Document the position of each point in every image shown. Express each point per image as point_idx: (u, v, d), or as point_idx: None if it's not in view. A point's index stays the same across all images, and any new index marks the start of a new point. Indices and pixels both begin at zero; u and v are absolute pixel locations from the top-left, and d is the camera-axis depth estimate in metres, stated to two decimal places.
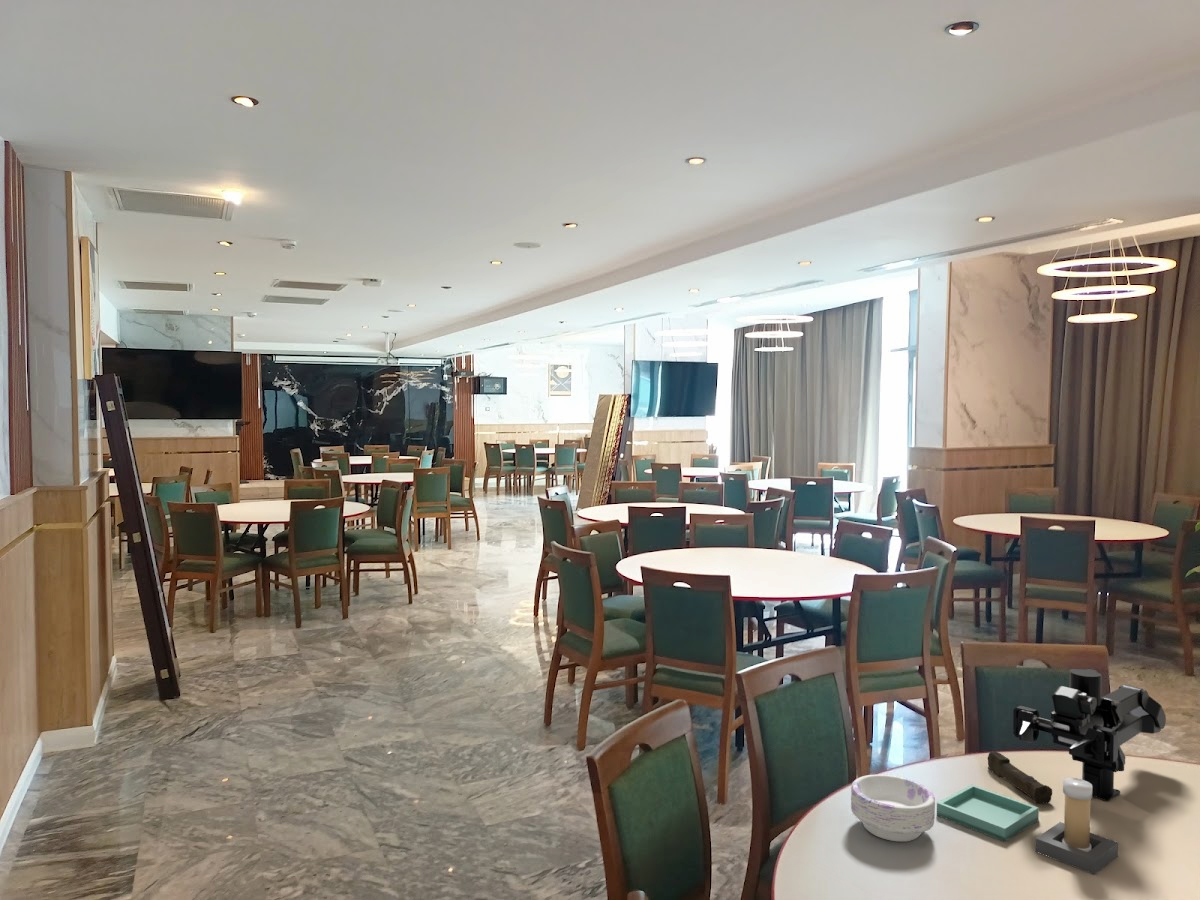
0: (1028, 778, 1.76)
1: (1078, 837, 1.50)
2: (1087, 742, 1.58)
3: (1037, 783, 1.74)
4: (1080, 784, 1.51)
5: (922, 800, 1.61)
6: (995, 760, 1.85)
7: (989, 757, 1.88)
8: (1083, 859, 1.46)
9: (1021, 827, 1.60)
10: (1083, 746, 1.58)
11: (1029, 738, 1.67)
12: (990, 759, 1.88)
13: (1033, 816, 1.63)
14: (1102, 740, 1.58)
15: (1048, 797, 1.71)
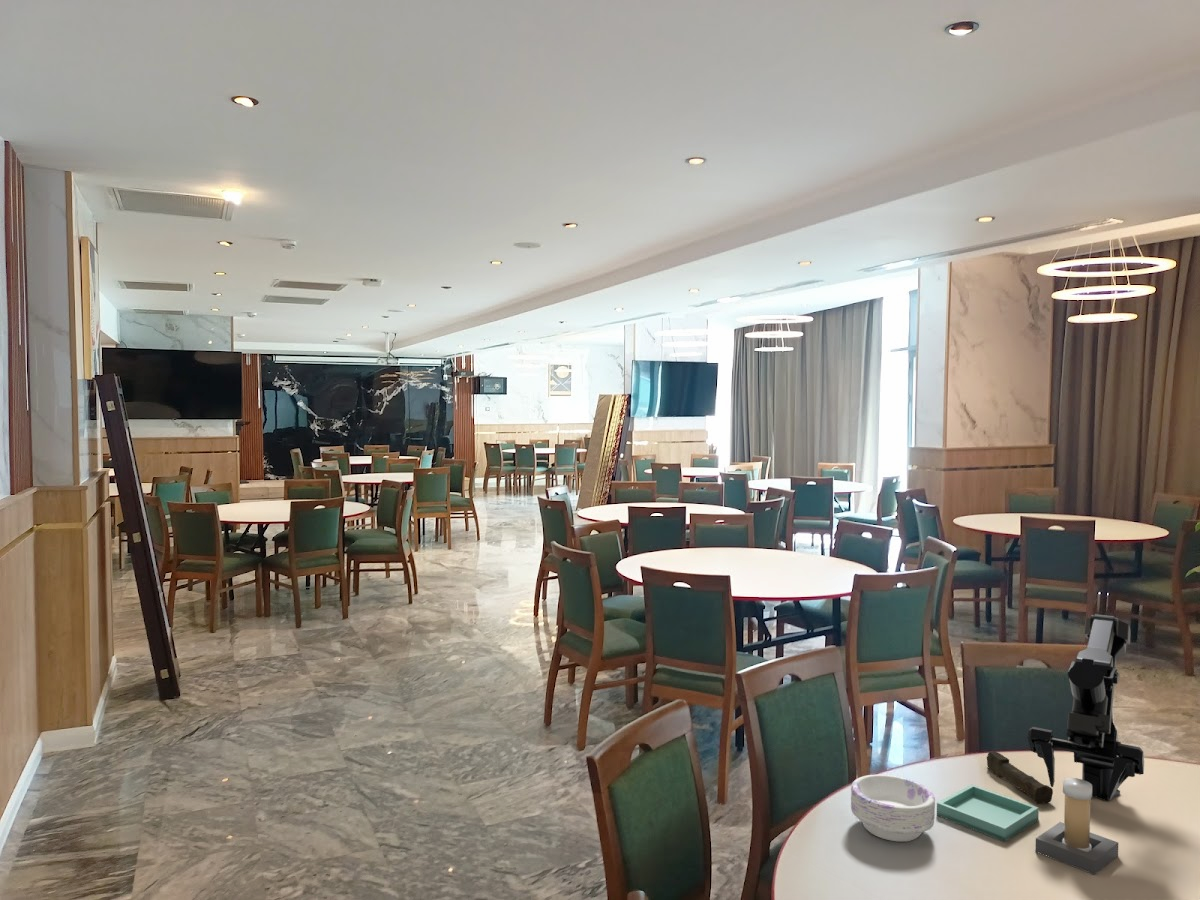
0: (1028, 778, 1.76)
1: (1078, 837, 1.50)
2: (1119, 776, 1.52)
3: (1037, 783, 1.74)
4: (1080, 784, 1.51)
5: (922, 799, 1.61)
6: (994, 760, 1.85)
7: (988, 757, 1.88)
8: (1083, 859, 1.46)
9: (1021, 827, 1.60)
10: (1117, 782, 1.52)
11: (1054, 766, 1.60)
12: (989, 759, 1.88)
13: (1033, 816, 1.63)
14: (1131, 766, 1.52)
15: (1048, 797, 1.71)
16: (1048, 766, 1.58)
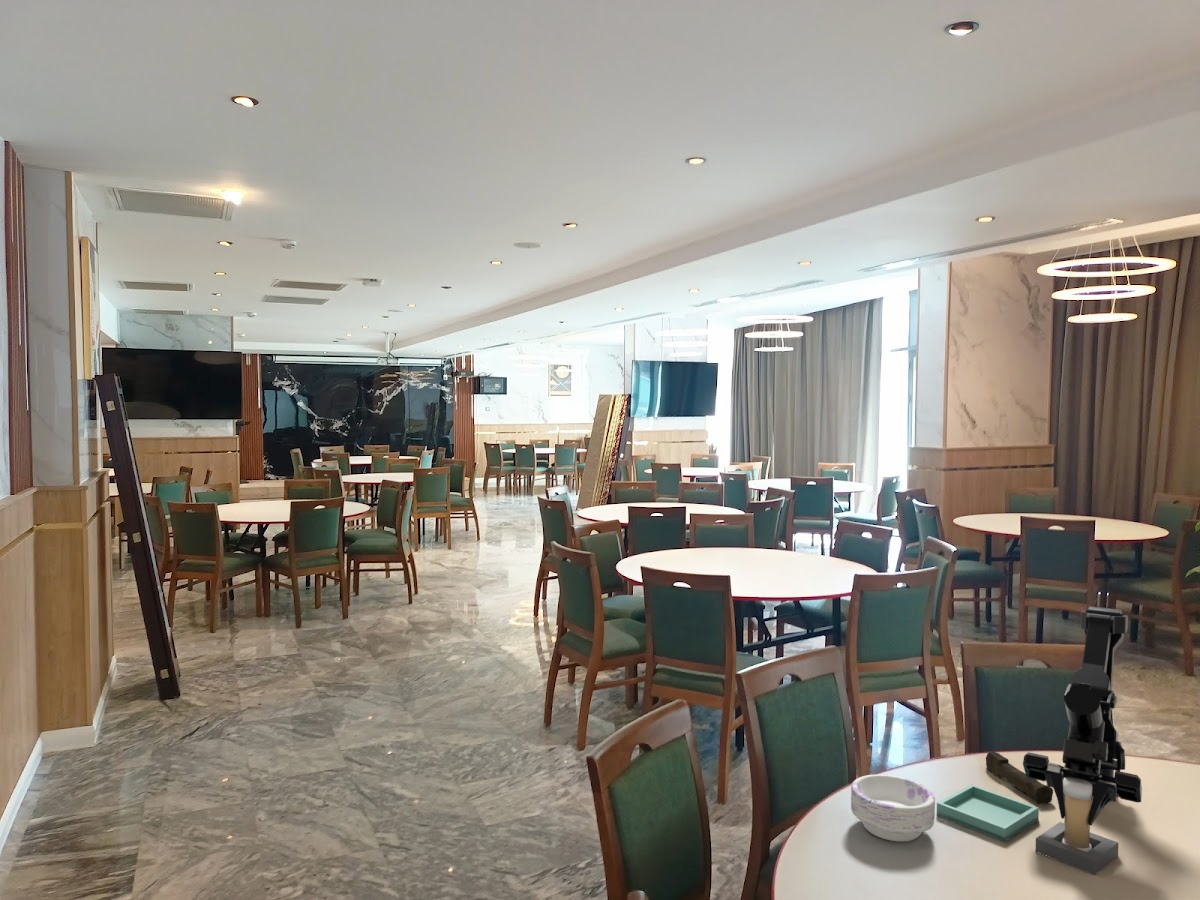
0: (1028, 778, 1.76)
1: (1078, 837, 1.50)
2: (1100, 801, 1.50)
3: (1038, 783, 1.74)
4: (1080, 784, 1.51)
5: (922, 799, 1.61)
6: (994, 760, 1.85)
7: (987, 757, 1.88)
8: (1083, 859, 1.46)
9: (1021, 827, 1.60)
10: (1098, 807, 1.50)
11: (1064, 797, 1.55)
12: (988, 759, 1.88)
13: (1033, 816, 1.63)
14: (1113, 791, 1.50)
15: (1049, 797, 1.71)
16: (1058, 797, 1.53)
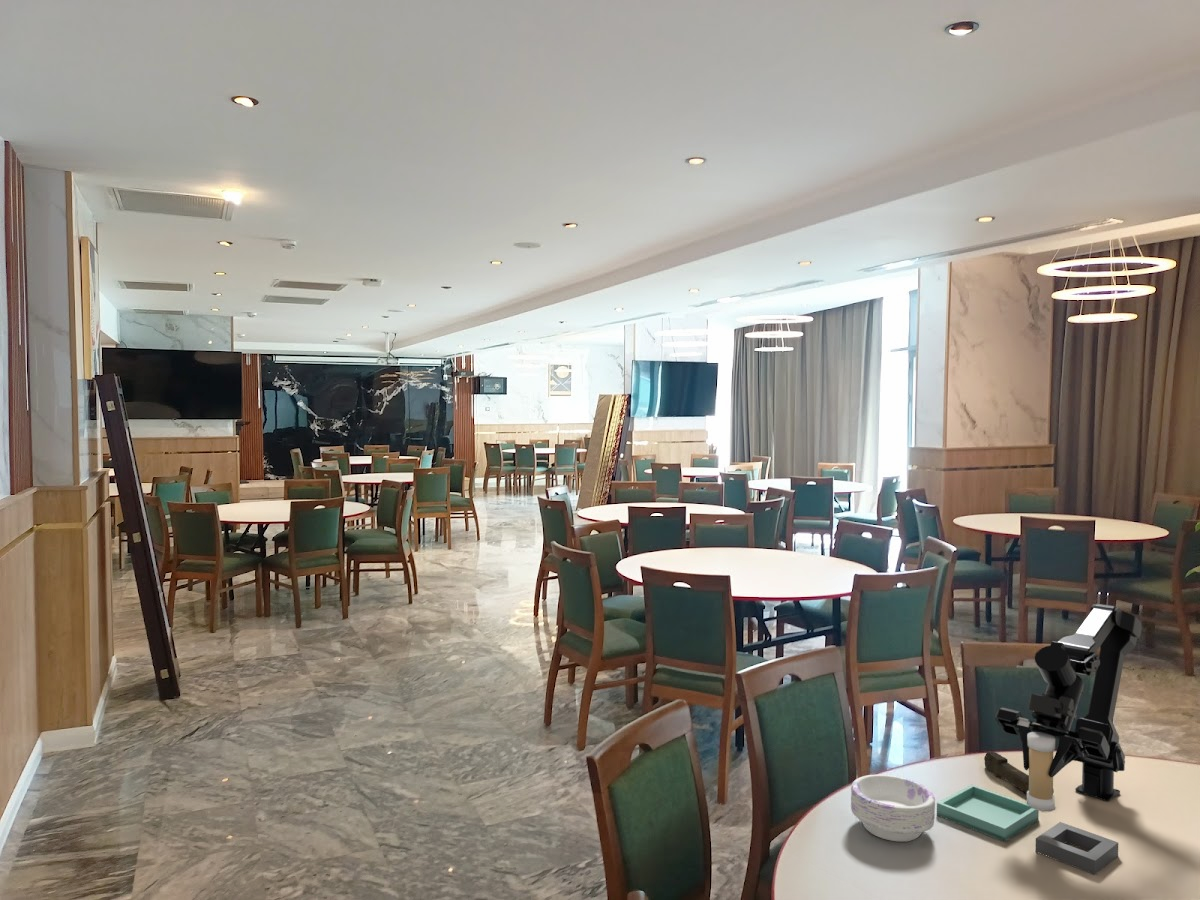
0: None
1: (1039, 788, 1.54)
2: (1063, 755, 1.53)
3: None
4: (1043, 737, 1.55)
5: (922, 799, 1.61)
6: (993, 760, 1.85)
7: (986, 757, 1.88)
8: (1083, 859, 1.46)
9: (1021, 827, 1.60)
10: (1061, 760, 1.53)
11: None
12: (987, 759, 1.87)
13: (1033, 816, 1.63)
14: (1076, 746, 1.53)
15: None
16: (1024, 749, 1.58)
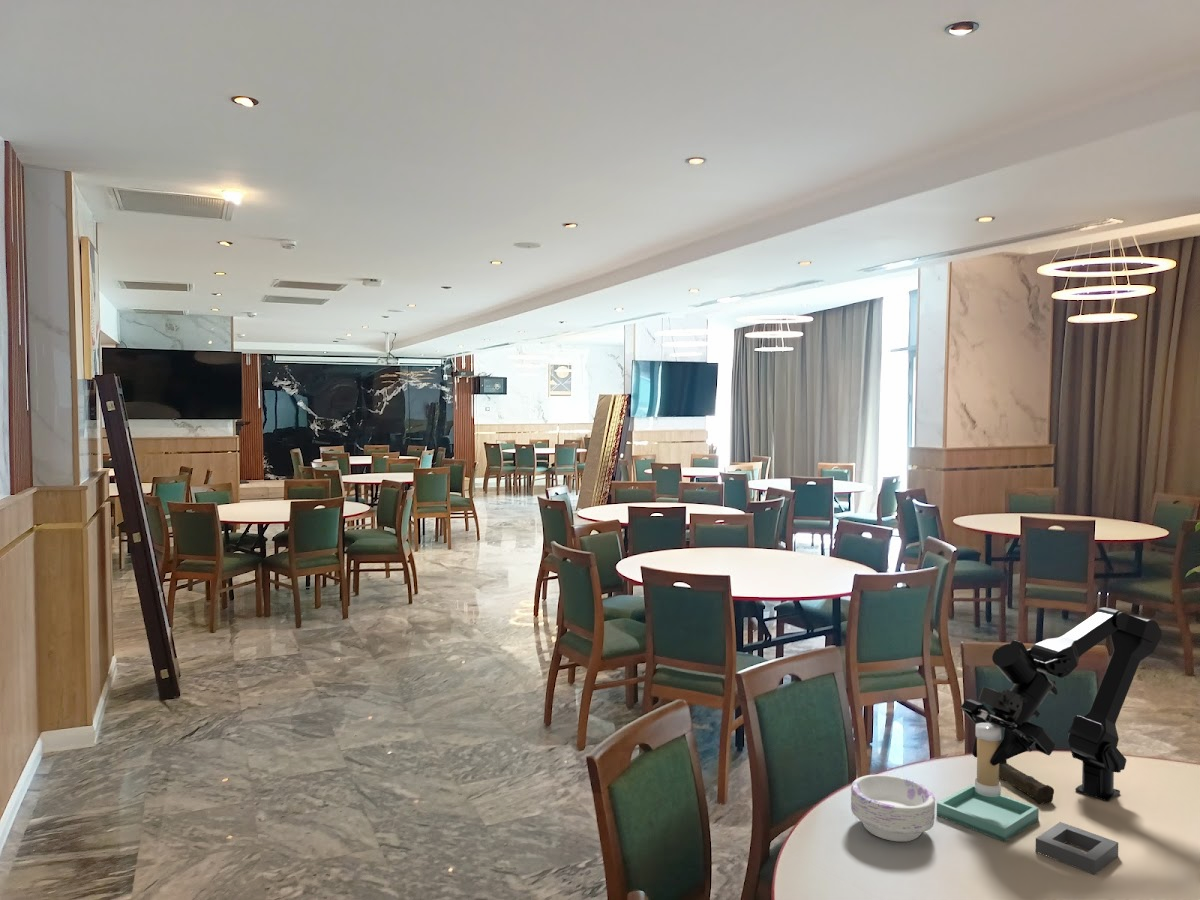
0: (1029, 778, 1.76)
1: (982, 774, 1.64)
2: (1006, 746, 1.62)
3: (1038, 783, 1.74)
4: (989, 727, 1.64)
5: (922, 799, 1.61)
6: None
7: None
8: (1083, 859, 1.46)
9: (1021, 827, 1.60)
10: (1004, 751, 1.62)
11: None
12: None
13: (1033, 816, 1.63)
14: (1019, 739, 1.61)
15: (1050, 797, 1.72)
16: (976, 738, 1.68)
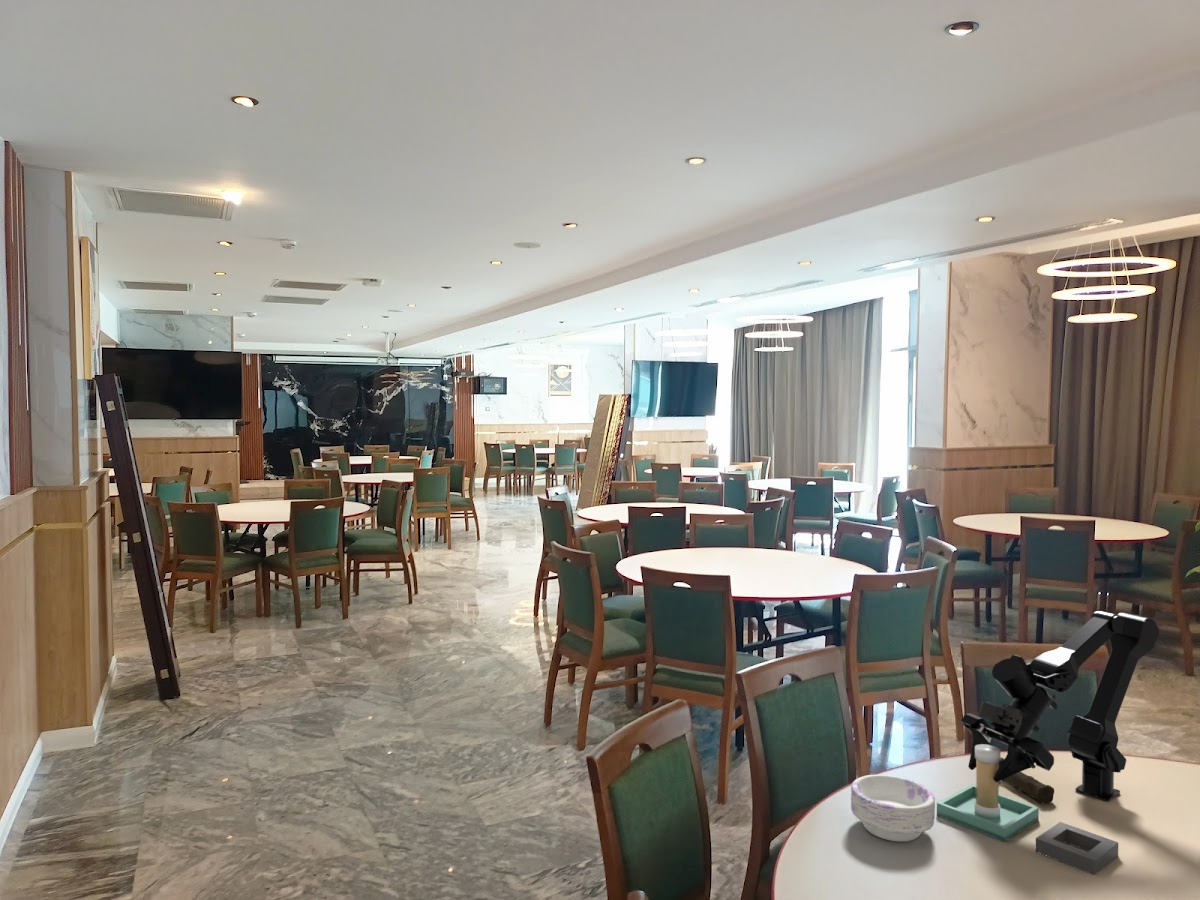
0: (1029, 778, 1.76)
1: (982, 796, 1.64)
2: (1009, 763, 1.61)
3: (1039, 783, 1.74)
4: (988, 749, 1.65)
5: (922, 799, 1.61)
6: None
7: None
8: (1083, 859, 1.46)
9: (1021, 827, 1.60)
10: (1007, 768, 1.62)
11: None
12: None
13: (1033, 816, 1.63)
14: (1022, 755, 1.60)
15: (1050, 797, 1.72)
16: (972, 751, 1.69)
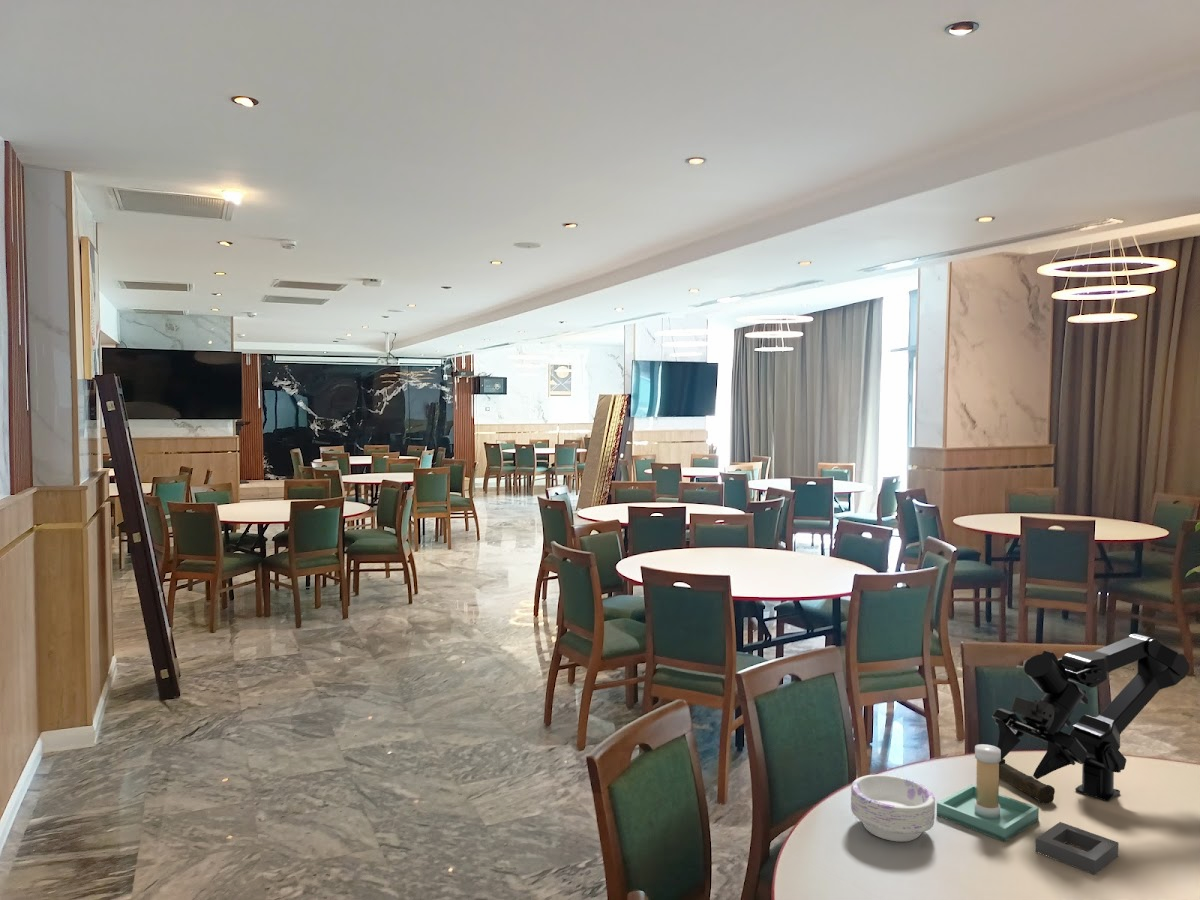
0: (1029, 778, 1.76)
1: (982, 796, 1.64)
2: (1049, 759, 1.63)
3: (1039, 783, 1.74)
4: (988, 749, 1.65)
5: (922, 800, 1.61)
6: None
7: None
8: (1083, 859, 1.46)
9: (1021, 827, 1.60)
10: (1047, 764, 1.63)
11: (1011, 745, 1.74)
12: None
13: (1033, 816, 1.63)
14: (1062, 752, 1.62)
15: (1051, 797, 1.72)
16: (999, 743, 1.73)
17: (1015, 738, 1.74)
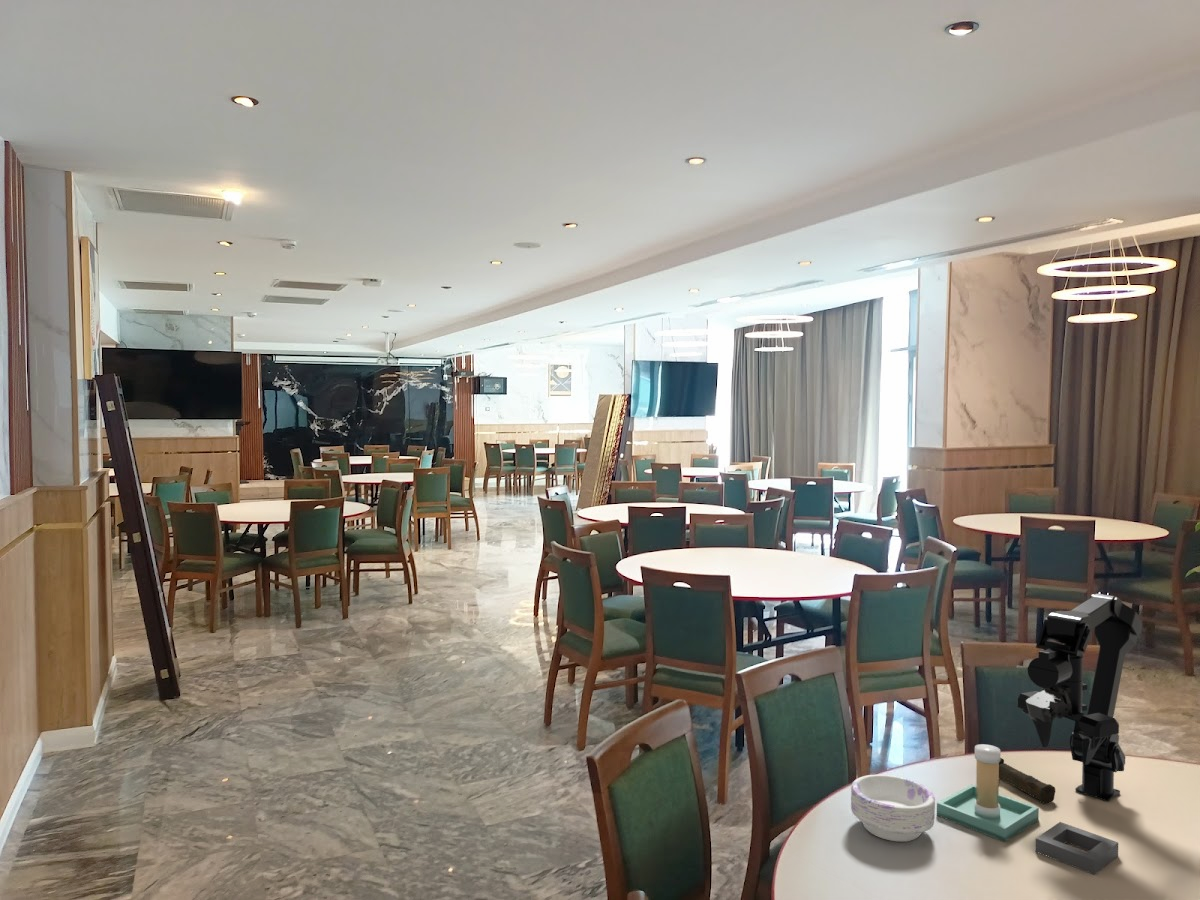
0: (1029, 778, 1.76)
1: (982, 796, 1.64)
2: (1088, 746, 1.60)
3: (1040, 782, 1.74)
4: (988, 749, 1.65)
5: (922, 800, 1.61)
6: None
7: None
8: (1083, 859, 1.46)
9: (1021, 827, 1.60)
10: (1089, 749, 1.61)
11: (1049, 723, 1.71)
12: None
13: (1033, 816, 1.63)
14: None
15: (1052, 796, 1.72)
16: (1037, 731, 1.71)
17: None
